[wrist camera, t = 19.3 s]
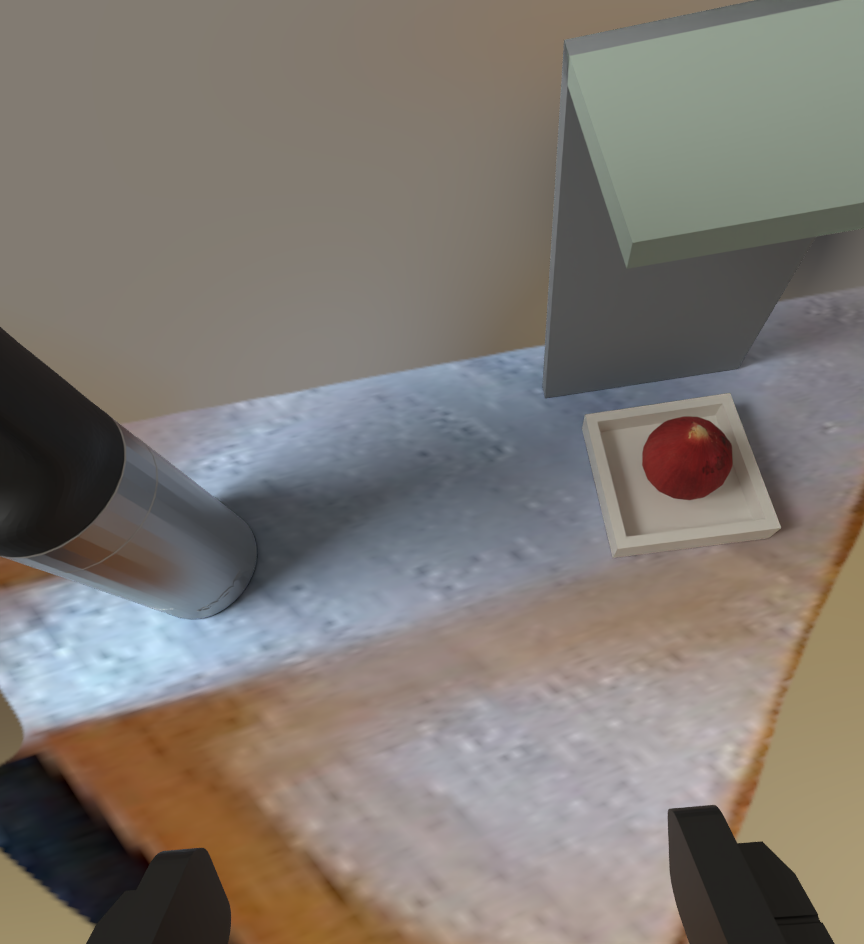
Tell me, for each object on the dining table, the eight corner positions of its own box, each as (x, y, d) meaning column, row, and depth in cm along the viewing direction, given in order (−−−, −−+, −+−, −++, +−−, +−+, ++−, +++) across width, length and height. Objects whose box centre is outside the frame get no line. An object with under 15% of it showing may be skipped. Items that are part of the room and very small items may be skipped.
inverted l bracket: (785, 489, 42) (1147, 153, 18) (570, 517, 44) (632, 242, 19) (733, 356, 48) (957, -42, 23) (542, 386, 49) (564, 39, 25)
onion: (713, 449, 44) (750, 393, 37) (715, 519, 42) (756, 473, 34) (634, 443, 45) (656, 387, 38) (632, 510, 43) (655, 465, 36)
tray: (768, 538, 41) (781, 527, 39) (612, 558, 42) (617, 548, 40) (720, 408, 46) (730, 392, 44) (582, 428, 47) (584, 414, 45)
